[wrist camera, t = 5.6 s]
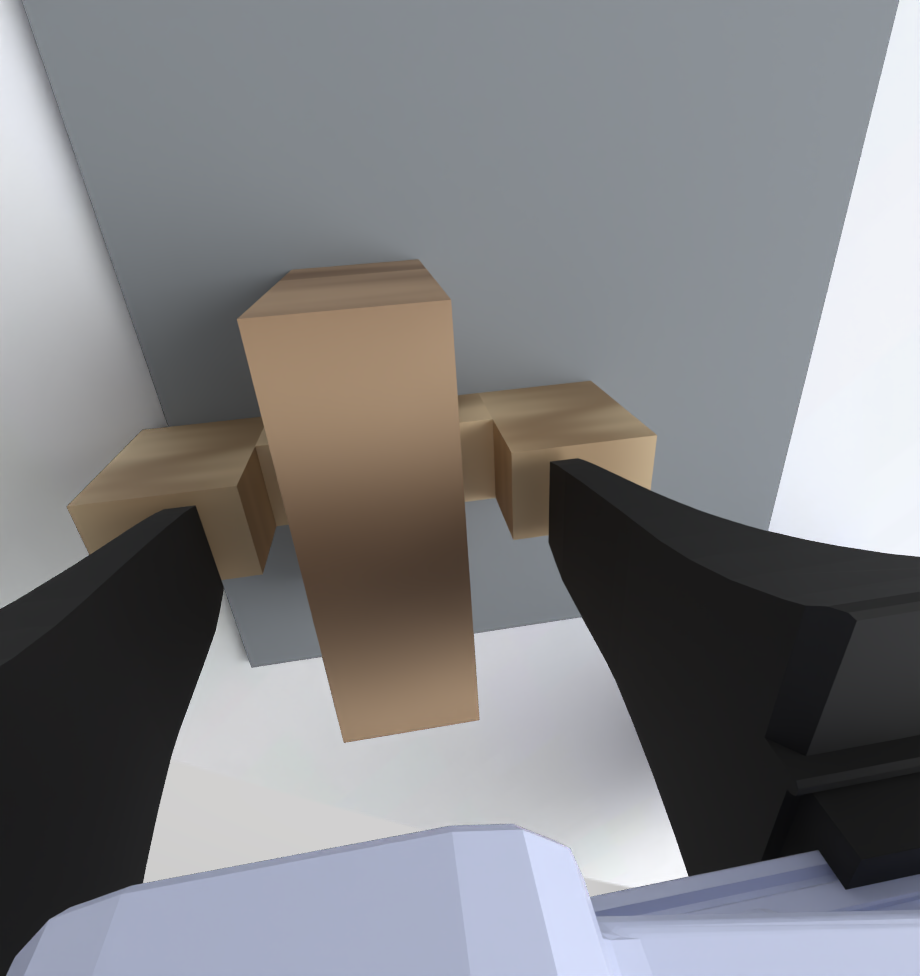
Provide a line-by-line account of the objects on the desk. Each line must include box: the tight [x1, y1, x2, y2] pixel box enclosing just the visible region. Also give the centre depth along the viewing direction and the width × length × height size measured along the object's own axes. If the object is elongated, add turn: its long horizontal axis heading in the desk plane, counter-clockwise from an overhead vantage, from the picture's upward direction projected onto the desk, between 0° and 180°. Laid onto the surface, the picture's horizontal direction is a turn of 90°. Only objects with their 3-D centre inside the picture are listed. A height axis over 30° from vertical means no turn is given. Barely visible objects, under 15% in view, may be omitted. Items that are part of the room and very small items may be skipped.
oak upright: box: [67, 381, 657, 580], centre depth 13 cm, size 12×2×4 cm, turn 94°
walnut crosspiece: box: [237, 259, 479, 743], centre depth 12 cm, size 9×3×6 cm, turn 4°
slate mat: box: [22, 0, 899, 668], centre depth 14 cm, size 22×18×1 cm
